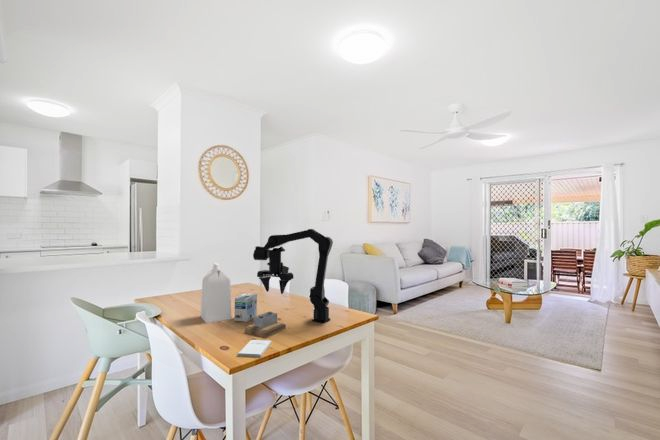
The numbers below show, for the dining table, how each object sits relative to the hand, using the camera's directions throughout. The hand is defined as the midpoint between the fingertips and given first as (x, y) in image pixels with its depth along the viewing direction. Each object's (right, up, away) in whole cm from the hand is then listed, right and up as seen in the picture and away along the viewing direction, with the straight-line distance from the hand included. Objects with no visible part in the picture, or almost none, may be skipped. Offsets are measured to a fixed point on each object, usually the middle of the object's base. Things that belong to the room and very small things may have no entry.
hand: (274, 292), depth 144 cm
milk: (-28, -12, -1) cm, 31 cm away
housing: (0, -9, -18) cm, 21 cm away
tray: (0, -12, -19) cm, 22 cm away
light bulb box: (-14, -12, -2) cm, 18 cm away
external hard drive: (0, -12, -38) cm, 40 cm away
